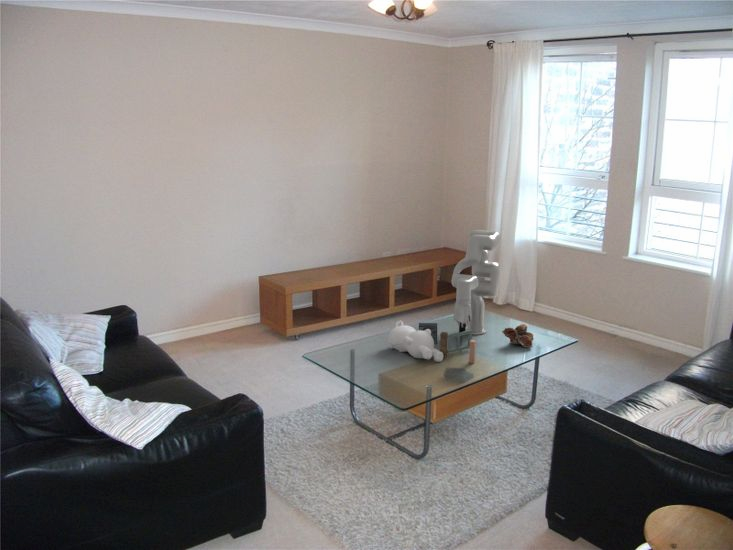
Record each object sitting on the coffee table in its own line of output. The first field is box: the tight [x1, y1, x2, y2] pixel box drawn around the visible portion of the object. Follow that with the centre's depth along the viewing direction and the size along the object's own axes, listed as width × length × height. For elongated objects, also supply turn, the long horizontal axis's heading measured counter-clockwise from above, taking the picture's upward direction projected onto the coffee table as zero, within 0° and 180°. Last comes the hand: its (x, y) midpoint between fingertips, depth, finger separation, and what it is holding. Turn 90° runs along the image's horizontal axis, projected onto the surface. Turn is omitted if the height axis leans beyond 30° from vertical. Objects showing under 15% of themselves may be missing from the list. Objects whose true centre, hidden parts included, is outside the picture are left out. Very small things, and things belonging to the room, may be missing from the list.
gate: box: [447, 330, 473, 354], centre depth 356 cm, size 18×2×11 cm, turn 120°
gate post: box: [439, 331, 449, 360], centre depth 349 cm, size 3×3×14 cm
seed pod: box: [501, 323, 534, 348], centre depth 369 cm, size 14×18×16 cm
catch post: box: [468, 339, 477, 364], centre depth 343 cm, size 2×2×12 cm
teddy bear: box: [387, 320, 444, 363], centre depth 354 cm, size 19×18×35 cm
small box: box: [418, 322, 438, 345], centre depth 373 cm, size 11×6×10 cm, turn 84°
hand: (462, 333), depth 359 cm, fingers closed
